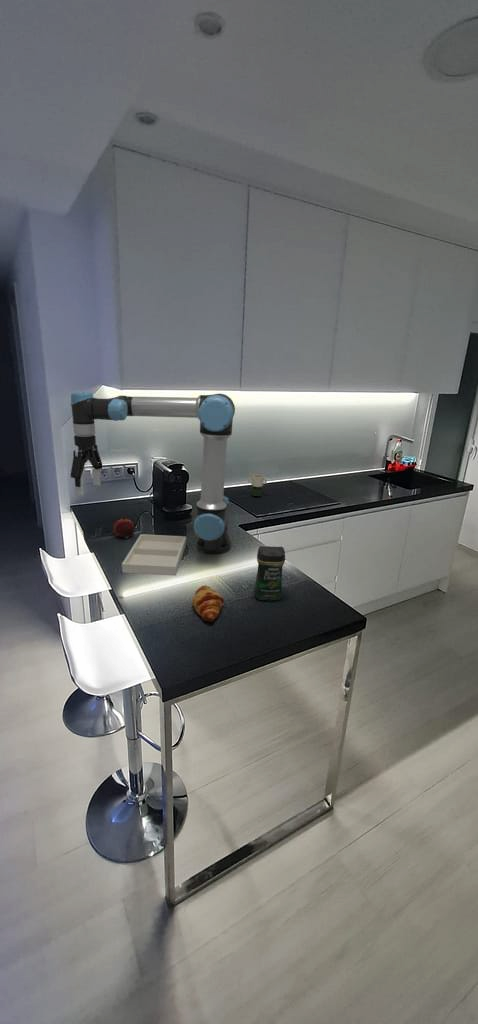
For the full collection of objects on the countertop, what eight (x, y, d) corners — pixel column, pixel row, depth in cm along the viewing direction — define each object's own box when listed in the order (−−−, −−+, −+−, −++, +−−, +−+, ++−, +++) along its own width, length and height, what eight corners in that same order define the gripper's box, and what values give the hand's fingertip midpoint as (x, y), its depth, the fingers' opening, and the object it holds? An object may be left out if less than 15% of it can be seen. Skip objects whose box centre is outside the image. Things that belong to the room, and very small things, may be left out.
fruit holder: (186, 543, 186) (186, 536, 185) (175, 575, 159) (175, 566, 158) (140, 541, 186) (140, 534, 185) (122, 572, 159) (121, 564, 158)
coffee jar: (254, 602, 144) (258, 552, 138) (253, 590, 151) (256, 542, 145) (283, 602, 145) (287, 552, 138) (280, 590, 152) (284, 542, 146)
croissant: (196, 600, 150) (185, 583, 147) (221, 587, 150) (211, 569, 147) (202, 635, 130) (190, 616, 127) (231, 620, 130) (219, 600, 127)
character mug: (264, 494, 261) (266, 474, 257) (266, 498, 254) (267, 477, 250) (247, 494, 260) (248, 473, 256) (247, 497, 254) (249, 476, 249)
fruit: (129, 541, 186) (129, 520, 183) (109, 539, 188) (108, 517, 184) (138, 534, 194) (137, 513, 191) (119, 531, 196) (118, 511, 193)
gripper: (91, 429, 170) (94, 480, 177) (56, 439, 147) (62, 498, 154) (109, 430, 169) (112, 482, 176) (76, 441, 146) (81, 500, 153)
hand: (88, 489), depth 165 cm, fingers open, 13 cm apart
